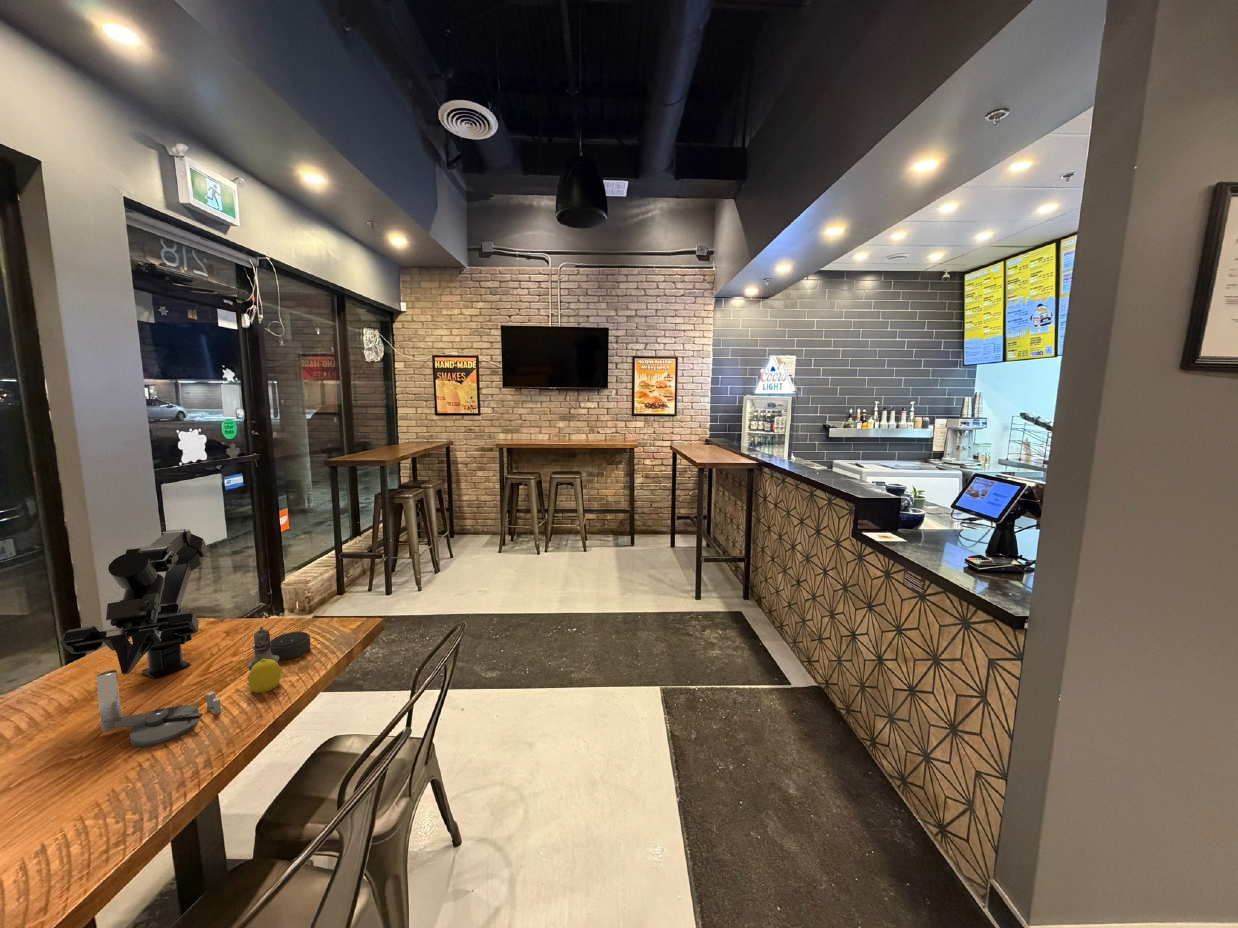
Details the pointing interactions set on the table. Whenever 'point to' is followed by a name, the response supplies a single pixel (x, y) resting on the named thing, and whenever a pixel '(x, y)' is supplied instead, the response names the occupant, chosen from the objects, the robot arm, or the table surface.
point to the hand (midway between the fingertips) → (125, 673)
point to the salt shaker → (262, 647)
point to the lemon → (264, 676)
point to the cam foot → (142, 716)
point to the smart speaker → (290, 645)
